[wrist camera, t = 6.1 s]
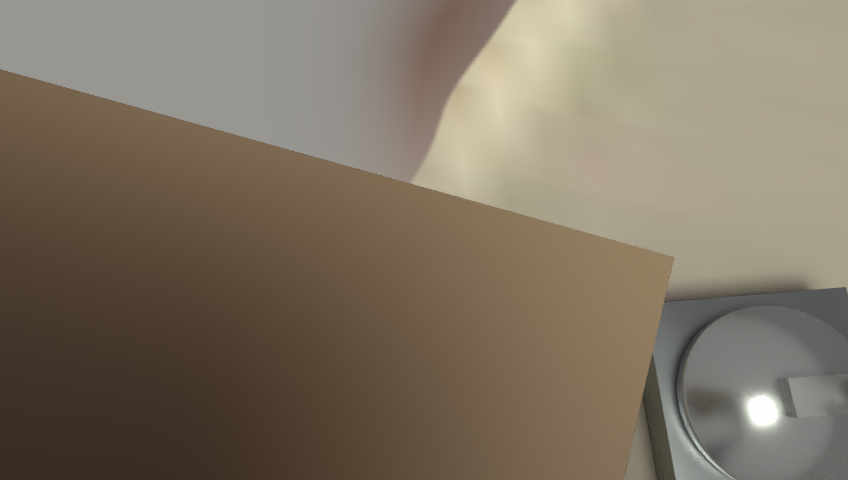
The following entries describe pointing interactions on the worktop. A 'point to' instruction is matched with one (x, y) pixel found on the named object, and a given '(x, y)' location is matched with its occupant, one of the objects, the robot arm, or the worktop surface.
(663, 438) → the crank base
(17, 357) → the block
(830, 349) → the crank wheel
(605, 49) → the worktop surface
